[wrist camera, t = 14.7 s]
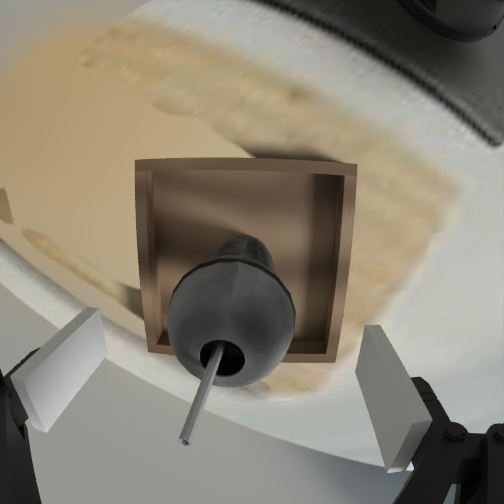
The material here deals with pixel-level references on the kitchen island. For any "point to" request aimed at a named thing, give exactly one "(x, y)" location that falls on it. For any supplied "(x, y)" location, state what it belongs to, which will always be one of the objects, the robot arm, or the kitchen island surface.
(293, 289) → the serving tray
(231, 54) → the kitchen island surface
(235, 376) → the beverage cup
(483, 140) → the kitchen island surface
